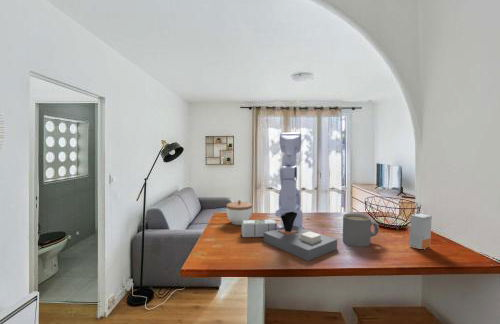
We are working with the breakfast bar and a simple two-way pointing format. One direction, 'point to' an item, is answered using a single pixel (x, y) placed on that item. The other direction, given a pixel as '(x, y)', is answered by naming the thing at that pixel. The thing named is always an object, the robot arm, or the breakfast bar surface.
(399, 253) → the breakfast bar surface
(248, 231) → the syrup box
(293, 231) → the terracotta key
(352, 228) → the coffee mug
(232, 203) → the lidded bowl
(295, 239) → the key board
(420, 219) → the skincare box
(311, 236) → the cream key
